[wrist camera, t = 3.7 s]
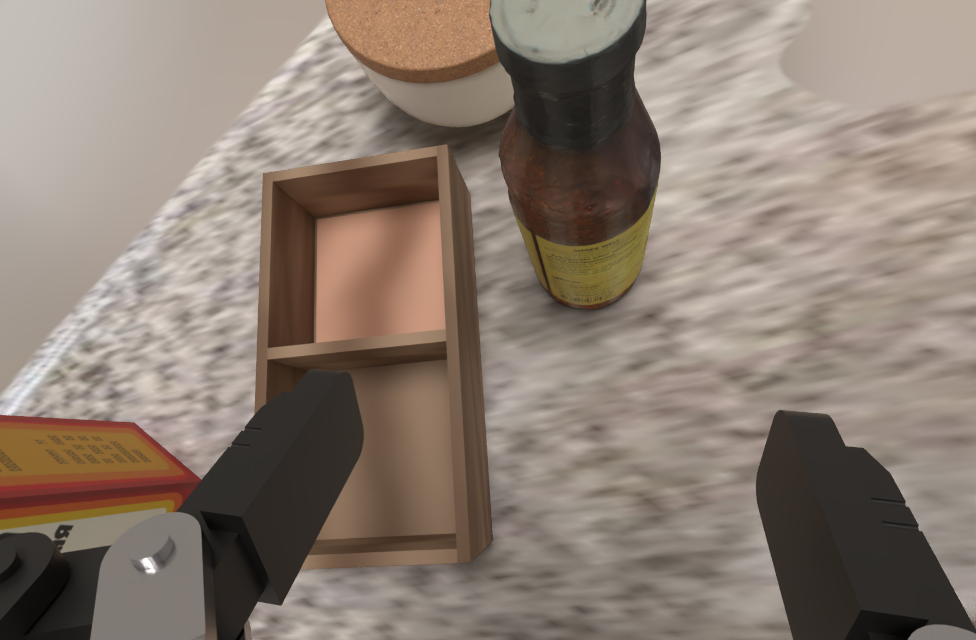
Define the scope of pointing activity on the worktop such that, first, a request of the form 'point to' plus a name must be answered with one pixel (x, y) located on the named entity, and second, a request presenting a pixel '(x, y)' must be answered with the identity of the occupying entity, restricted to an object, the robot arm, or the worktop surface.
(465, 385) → the wooden compartment tray
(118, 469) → the baking soda box
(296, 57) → the worktop surface
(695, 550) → the worktop surface
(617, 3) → the sauce bottle
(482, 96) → the white lidded bowl
